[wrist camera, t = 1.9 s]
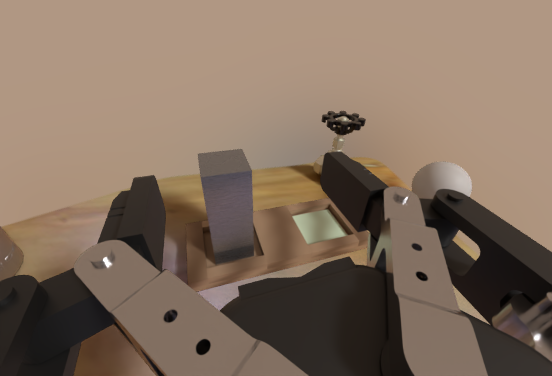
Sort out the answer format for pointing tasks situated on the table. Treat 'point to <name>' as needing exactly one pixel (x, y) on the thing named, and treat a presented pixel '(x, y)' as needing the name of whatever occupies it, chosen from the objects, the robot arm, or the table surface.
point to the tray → (274, 243)
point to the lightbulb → (440, 179)
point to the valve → (339, 131)
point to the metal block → (228, 203)
